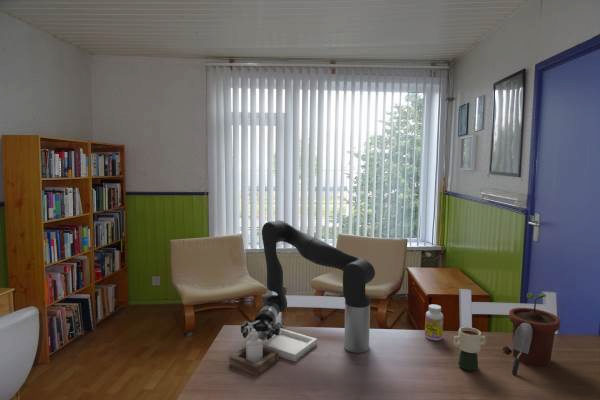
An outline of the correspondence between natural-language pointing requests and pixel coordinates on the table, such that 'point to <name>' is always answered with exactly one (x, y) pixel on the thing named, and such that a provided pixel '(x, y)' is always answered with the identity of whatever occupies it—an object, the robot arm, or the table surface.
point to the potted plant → (532, 335)
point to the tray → (290, 344)
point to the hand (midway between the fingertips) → (256, 336)
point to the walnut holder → (251, 367)
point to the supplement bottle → (434, 323)
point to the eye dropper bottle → (254, 348)
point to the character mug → (469, 347)
